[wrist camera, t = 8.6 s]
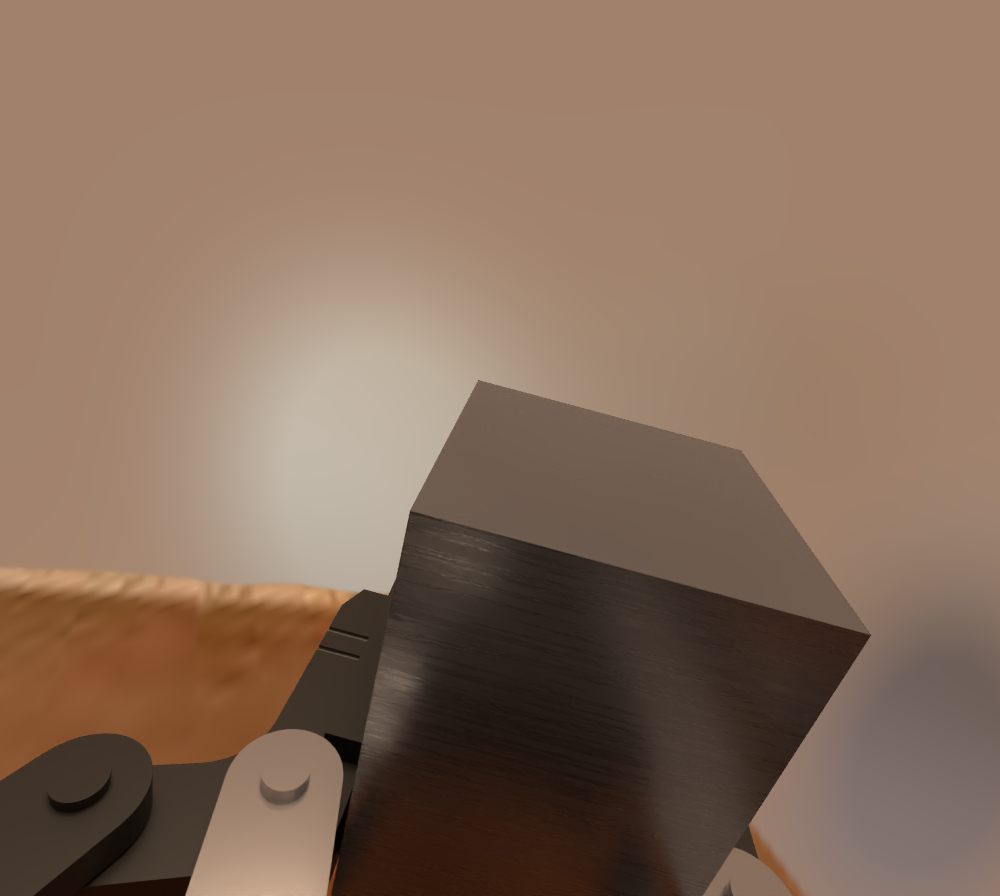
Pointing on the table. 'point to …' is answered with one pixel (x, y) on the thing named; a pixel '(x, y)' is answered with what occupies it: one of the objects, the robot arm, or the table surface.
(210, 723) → the table surface
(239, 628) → the table surface
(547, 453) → the dark grey rectangular block
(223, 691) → the table surface
